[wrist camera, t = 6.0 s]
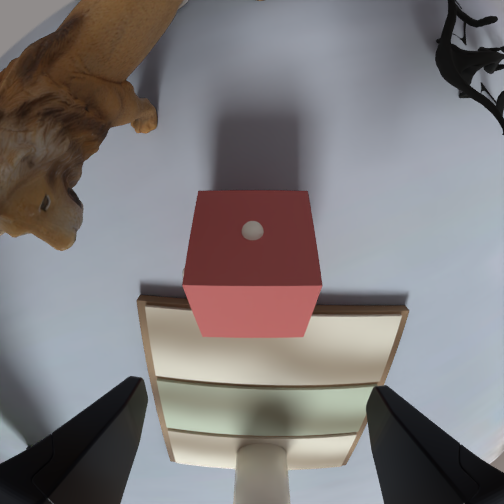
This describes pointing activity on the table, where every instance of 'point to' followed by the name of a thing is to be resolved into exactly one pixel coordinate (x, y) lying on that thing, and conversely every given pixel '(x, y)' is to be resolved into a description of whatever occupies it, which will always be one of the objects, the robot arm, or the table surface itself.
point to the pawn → (261, 475)
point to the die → (252, 264)
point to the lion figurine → (71, 110)
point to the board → (267, 383)
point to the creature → (468, 61)
